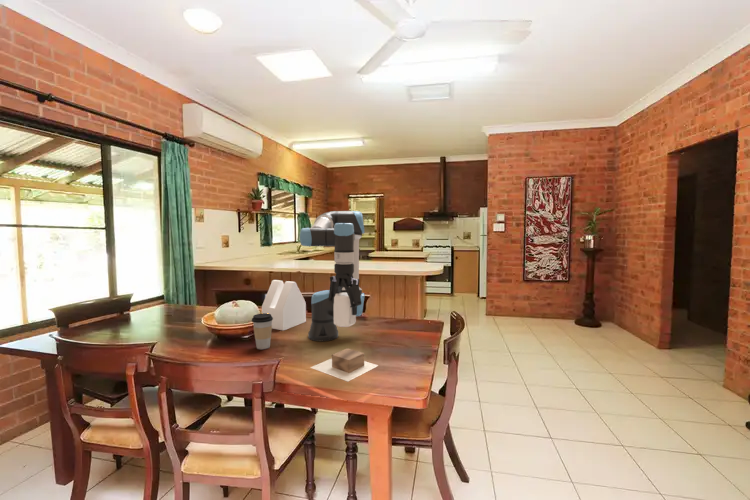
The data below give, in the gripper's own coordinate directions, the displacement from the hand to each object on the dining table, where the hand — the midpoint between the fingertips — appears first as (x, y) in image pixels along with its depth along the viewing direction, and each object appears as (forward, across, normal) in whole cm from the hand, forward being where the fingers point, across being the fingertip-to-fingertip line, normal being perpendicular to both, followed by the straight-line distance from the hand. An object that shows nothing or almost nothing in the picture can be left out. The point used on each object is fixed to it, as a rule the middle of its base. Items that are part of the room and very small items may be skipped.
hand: (344, 321), depth 136 cm
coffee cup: (+19, -47, -6) cm, 51 cm away
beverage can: (+2, 0, 0) cm, 2 cm away
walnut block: (+18, +1, +1) cm, 18 cm away
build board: (+19, 0, 0) cm, 19 cm away
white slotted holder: (+19, -71, +23) cm, 77 cm away
